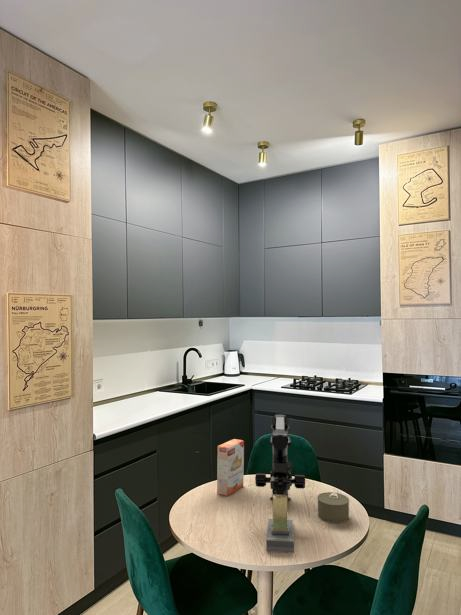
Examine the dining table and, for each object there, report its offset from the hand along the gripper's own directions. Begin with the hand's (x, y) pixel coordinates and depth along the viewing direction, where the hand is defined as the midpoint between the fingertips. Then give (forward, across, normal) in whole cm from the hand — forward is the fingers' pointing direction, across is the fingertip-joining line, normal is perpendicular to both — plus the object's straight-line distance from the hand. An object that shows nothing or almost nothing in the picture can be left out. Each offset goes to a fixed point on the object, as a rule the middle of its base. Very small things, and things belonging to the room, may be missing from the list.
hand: (280, 503), depth 160 cm
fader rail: (+11, 0, +2) cm, 11 cm away
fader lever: (+9, 0, 0) cm, 9 cm away
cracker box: (-17, -22, +29) cm, 40 cm away
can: (-2, +20, +14) cm, 25 cm away
